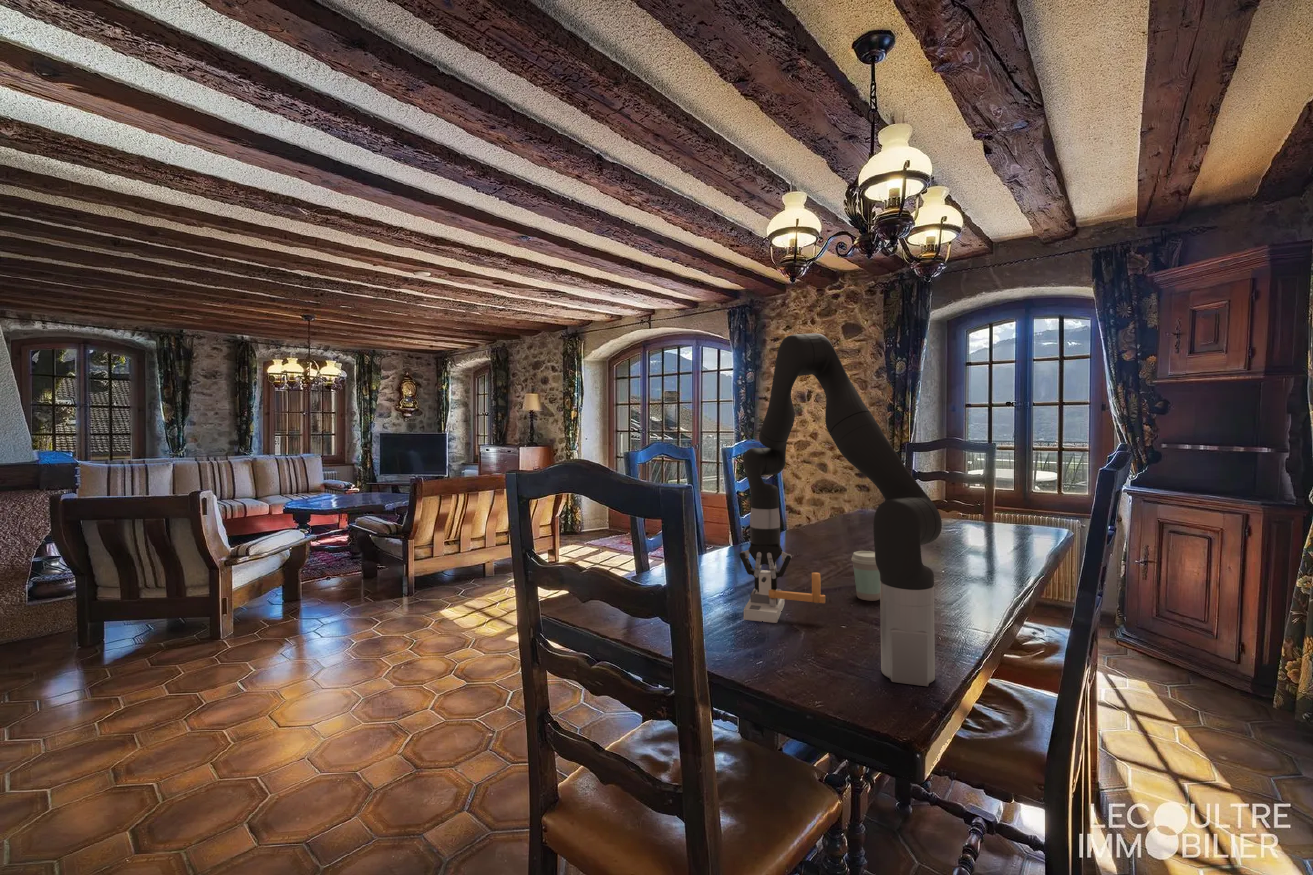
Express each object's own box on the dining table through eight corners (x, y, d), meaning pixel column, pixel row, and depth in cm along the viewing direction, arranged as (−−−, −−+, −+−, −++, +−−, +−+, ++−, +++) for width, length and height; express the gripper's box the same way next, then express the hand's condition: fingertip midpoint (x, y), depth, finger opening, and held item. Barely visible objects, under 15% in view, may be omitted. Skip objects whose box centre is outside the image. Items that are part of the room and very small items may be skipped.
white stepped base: (776, 622, 132) (776, 604, 132) (743, 619, 134) (743, 601, 134) (784, 604, 146) (784, 587, 146) (754, 601, 148) (754, 584, 148)
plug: (773, 604, 137) (773, 577, 137) (753, 603, 139) (753, 575, 139) (777, 597, 143) (776, 570, 143) (758, 595, 145) (757, 569, 145)
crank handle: (767, 597, 136) (767, 570, 136) (769, 595, 138) (769, 568, 138) (824, 603, 131) (824, 575, 130) (825, 601, 132) (825, 573, 132)
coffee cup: (887, 595, 152) (887, 552, 151) (881, 604, 144) (881, 558, 144) (855, 591, 156) (855, 549, 156) (848, 599, 149) (847, 555, 149)
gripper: (794, 523, 143) (795, 589, 143) (740, 521, 148) (741, 585, 148) (791, 528, 136) (792, 598, 136) (735, 526, 141) (736, 593, 141)
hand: (765, 591), depth 142 cm, fingers closed on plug, 3 cm apart
